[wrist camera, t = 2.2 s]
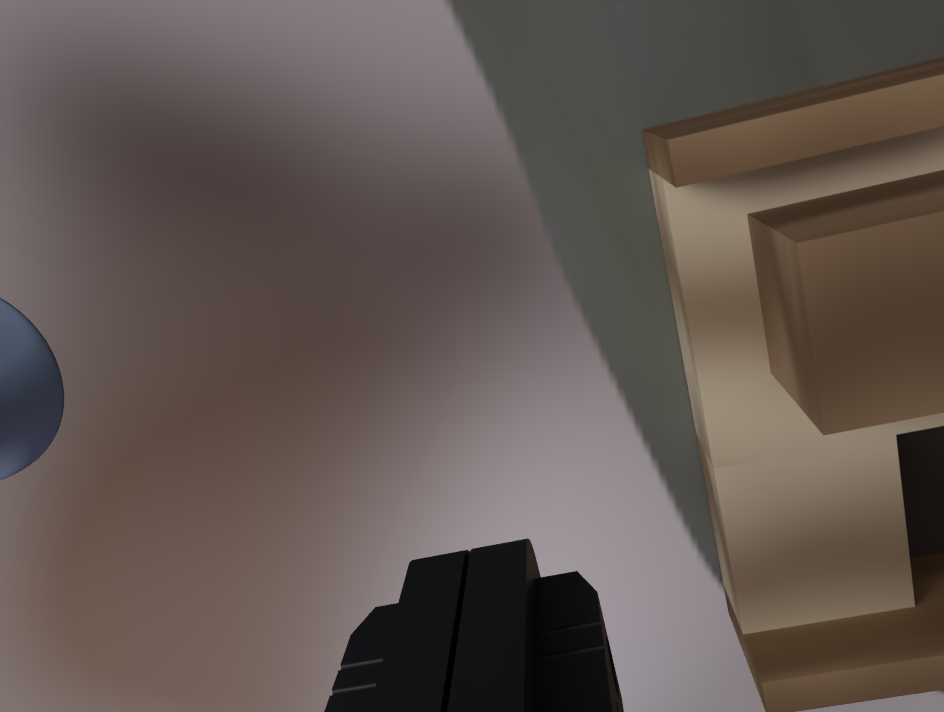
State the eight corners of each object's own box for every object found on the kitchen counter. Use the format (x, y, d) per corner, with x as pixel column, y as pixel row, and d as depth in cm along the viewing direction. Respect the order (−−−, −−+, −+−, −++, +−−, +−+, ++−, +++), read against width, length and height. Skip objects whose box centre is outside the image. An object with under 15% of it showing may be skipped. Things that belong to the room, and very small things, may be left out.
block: (747, 214, 20) (797, 243, 16) (947, 168, 20) (1049, 187, 16) (771, 373, 21) (823, 435, 17) (962, 335, 21) (1059, 390, 17)
